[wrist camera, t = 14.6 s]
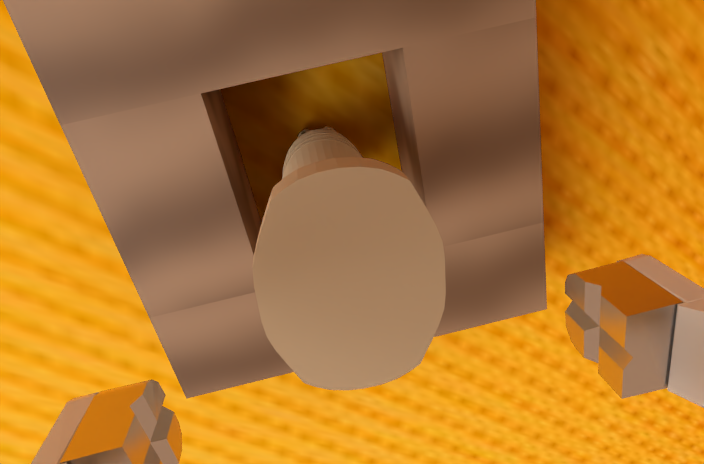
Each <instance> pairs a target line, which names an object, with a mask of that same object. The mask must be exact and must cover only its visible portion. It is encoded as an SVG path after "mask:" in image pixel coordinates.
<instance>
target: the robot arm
mask: <svg viewBox="0 0 704 464" xmlns="http://www.w3.org/2000/svg"><path fill="white" fill-rule="evenodd" d="M565 293H566V294H567V295H568V296H569V297H570V298H571V299H572V300H573V301H572V302H571V304H570V305H569V307H568V308H567V310H566V312H565V316H566V327H567V330H568V333H569V336H570V339H571V341H572V343H573V344H574V346H575V348H576V349H577V350H578V351H579V352H580V354H581V355H582V356H583V357H584V358H587V359H589V360H592V361H594V362H597V363H599V364H598V374H599V375H600V376H601V377H602V378H603V379H604V380H605V381H606V382H607V383H608V384H609V385H610V386H611V388H612V389H613V390H614V391H615V392H616V393H617V394H618V395H619V396H620V397H621V398H626V397H631V396H635V395H639V394H643V393H648V392H652V391H656V390H660V389H665V388H668V391H670V392H672V393H674V394H677V395H679V396H681V397H683V398H685V399H687V400H689V401H691V402H693V403H695V404H697V405H699V406H701V407H703V408H704V289H703V288H702V287H700V286H699V285H697V284H695V283H694V282H692V281H690V280H689V279H687V278H686V277H684V276H682V275H681V274H679V273H677V272H676V271H674V270H673V269H671V268H669V267H668V266H666V265H664V264H663V263H661V262H660V261H658V260H656V259H655V258H653V257H651V256H649V255H643V254H641V255H637V256H634V257H630V258H627V259H623V260H620V261H617V262H616V263H612V264H608V265H604V266H600V267H596V268H592V269H589V270H585V271H581V272H577V273H573V274H569V275H568V276H567V279H566V282H565ZM164 398H165V393H164V392H163V390H162V388H161V386H160V385H159V383H158V382H157V381H154V380H148V381H144V382H140V383H135V384H131V385H127V386H122V387H118V388H114V389H109V390H105V391H101V392H99V393H93V394H89V395H85V396H81V397H77V398H74V399H72V400H71V401H69V402H67V403H66V405H65V407H64V409H63V410H62V412H61V414H60V415H59V417H58V419H57V421H56V422H55V424H54V426H53V427H52V429H51V431H50V432H49V434H48V436H47V438H46V439H45V441H44V443H43V444H42V446H41V448H40V450H39V451H38V453H37V455H36V456H35V458H34V460H33V461H32V463H31V464H179V461H180V456H181V452H182V433H181V429H180V425H179V422H178V420H177V417H176V415H175V413H174V412H173V411H171V410H169V409H167V408H165V407H163V406H162V404H163V401H164Z"/></svg>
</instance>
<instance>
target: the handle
mask: <svg viewBox="0 0 704 464" xmlns="http://www.w3.org/2000/svg"><path fill="white" fill-rule="evenodd" d="M252 270H253V281H254V289H255V294H256V298H257V303H258V308H259V312H260V317H261V322H262V324H263V327H264V330H265V333H266V336H267V338H268V340H269V341H270V343H271V344H272V346H273V347H274V349H275V350H276V352H277V353H278V354H279V355H280V356H281V357H282V359H283V360H284V361H285V362H286V363H287V364H288V366H289V367H290V368H291V369H292V370H293V371H294V372H295V373H296V374H297V376H298V377H299V378H300V379H301V380H302V381H303V382H304V383H306V384H309V385H312V386H315V387H319V388H324V389H329V390H353V389H363V388H368V387H372V386H377V385H381V384H384V383H387V382H389V381H392V380H395V379H397V378H399V377H401V376H403V375H404V374H406V373H408V372H410V371H411V370H412V369H414V368H415V367H416V366H418V365H419V364H420V363H421V361H422V359H423V357H424V355H425V353H426V351H427V349H428V347H429V345H430V343H431V341H432V339H433V337H434V334H435V332H436V330H437V328H438V326H439V323H440V320H441V317H442V314H443V311H444V307H445V296H446V281H445V255H444V248H443V241H442V239H441V236H440V234H439V231H438V229H437V226H436V224H435V222H434V221H433V219H432V217H431V215H430V214H429V212H428V210H427V208H426V206H425V205H424V203H423V201H422V200H421V198H420V196H419V195H418V193H417V191H416V190H415V188H414V186H413V185H412V183H411V181H410V180H409V179H408V178H407V177H406V175H405V174H404V173H403V172H402V171H400V170H399V169H397V168H395V167H393V166H391V165H389V164H387V163H384V162H381V161H378V160H375V159H370V158H363V157H362V156H361V154H360V152H359V151H358V150H357V148H356V147H355V146H354V145H353V144H352V143H351V142H350V141H349V140H348V139H347V138H346V137H344V136H343V135H341V134H340V133H337V132H336V130H335V129H333V128H331V127H328V126H324V127H323V128H321V129H314V130H308V129H304V130H302V131H301V132H300V133H299V134H298V138H297V139H296V140H295V141H294V142H293V144H292V145H291V147H290V149H289V150H288V153H287V155H286V158H285V162H284V166H283V174H282V180H281V181H280V182H279V183H277V184H276V185H275V186H274V187H273V189H272V192H271V195H270V198H269V201H268V204H267V207H266V210H265V213H264V217H263V220H262V224H261V227H260V231H259V235H258V239H257V243H256V248H255V252H254V257H253V269H252Z"/></svg>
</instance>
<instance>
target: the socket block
mask: <svg viewBox="0 0 704 464" xmlns="http://www.w3.org/2000/svg"><path fill="white" fill-rule="evenodd" d="M3 1H4V4H5V6H6V8H7V10H8V12H9V14H10V17H11V19H12V21H13V23H14V25H15V27H16V30H17V32H18V34H19V36H20V38H21V40H22V43H23V45H24V47H25V49H26V51H27V53H28V56H29V58H30V60H31V62H32V64H33V66H34V69H35V71H36V73H37V75H38V77H39V79H40V82H41V84H42V86H43V88H44V90H45V92H46V95H47V97H48V99H49V101H50V103H51V105H52V108H53V110H54V112H55V114H56V116H57V118H58V121H59V123H60V125H61V127H62V129H63V131H64V134H65V136H66V138H67V140H68V142H69V144H70V147H71V149H72V151H73V153H74V155H75V157H76V160H77V162H78V164H79V166H80V168H81V170H82V173H83V175H84V177H85V179H86V181H87V183H88V186H89V188H90V190H91V192H92V194H93V196H94V199H95V201H96V203H97V205H98V207H99V209H100V212H101V214H102V216H103V218H104V220H105V222H106V225H107V227H108V229H109V231H110V233H111V235H112V238H113V240H114V242H115V244H116V246H117V248H118V251H119V253H120V255H121V257H122V259H123V261H124V264H125V266H126V268H127V270H128V272H129V274H130V277H131V279H132V281H133V283H134V285H135V287H136V290H137V292H138V294H139V296H140V298H141V300H142V303H143V305H144V307H145V309H146V311H147V313H148V316H149V318H150V320H151V322H152V324H153V326H154V329H155V331H156V333H157V335H158V337H159V339H160V342H161V344H162V346H163V348H164V350H165V352H166V355H167V357H168V359H169V361H170V363H171V365H172V368H173V370H174V372H175V374H176V376H177V378H178V381H179V383H180V385H181V387H182V389H183V391H184V394H185V396H186V398H190V397H194V396H198V395H202V394H206V393H210V392H214V391H218V390H222V389H226V388H230V387H235V386H239V385H243V384H247V383H251V382H255V381H259V380H263V379H267V378H271V377H275V376H279V375H283V374H287V373H291V372H294V371H293V370H292V369H291V368H290V367H289V366H288V364H287V363H286V362H285V361H284V360H283V359H282V357H281V356H280V355H279V354H278V353H277V352H276V350H275V349H274V347H273V346H272V344H271V343H270V341H269V340H268V338H267V336H266V333H265V330H264V327H263V324H262V322H261V317H260V312H259V308H258V303H257V298H256V294H255V289H254V281H253V270H252V269H253V257H254V252H255V248H256V243H257V239H258V235H259V231H260V227H261V224H262V222H261V219H260V216H259V213H258V209H257V206H256V203H255V200H254V197H253V193H252V190H251V187H250V184H249V180H248V177H247V174H246V171H245V167H244V164H243V161H242V158H241V155H240V151H239V148H238V145H237V142H236V138H235V135H234V132H233V129H232V126H231V122H230V119H229V116H228V113H227V109H226V106H225V103H224V100H223V96H222V93H221V90H220V89H223V88H227V87H232V86H236V85H240V84H245V83H249V82H254V81H258V80H262V79H267V78H271V77H276V76H280V75H284V74H289V73H293V72H298V71H302V70H306V69H311V68H315V67H320V66H324V65H328V64H333V63H337V62H342V61H346V60H351V59H355V58H359V57H364V56H368V55H373V54H377V53H381V52H382V54H383V60H384V66H385V72H386V79H387V85H388V91H389V97H390V103H391V109H392V115H393V121H394V127H395V133H396V139H397V145H398V151H399V157H400V163H401V169H402V172H403V173H404V174H405V175H406V177H407V178H408V179H409V180H410V181H411V183H412V185H413V186H414V188H415V190H416V191H417V193H418V195H419V196H420V198H421V200H422V201H423V203H424V205H425V206H426V208H427V210H428V212H429V214H430V215H431V217H432V219H433V221H434V222H435V224H436V226H437V229H438V231H439V234H440V236H441V239H442V241H443V248H444V255H445V281H446V296H445V307H444V311H443V314H442V317H441V320H440V323H439V326H438V328H437V330H436V332H435V334H434V337H436V336H440V335H444V334H448V333H452V332H456V331H460V330H464V329H468V328H472V327H476V326H480V325H484V324H488V323H492V322H496V321H500V320H504V319H508V318H512V317H516V316H520V315H524V314H528V313H532V312H536V311H540V310H544V309H547V302H546V274H545V246H544V218H543V190H542V163H541V135H540V107H539V79H538V51H537V23H536V0H3Z"/></svg>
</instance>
